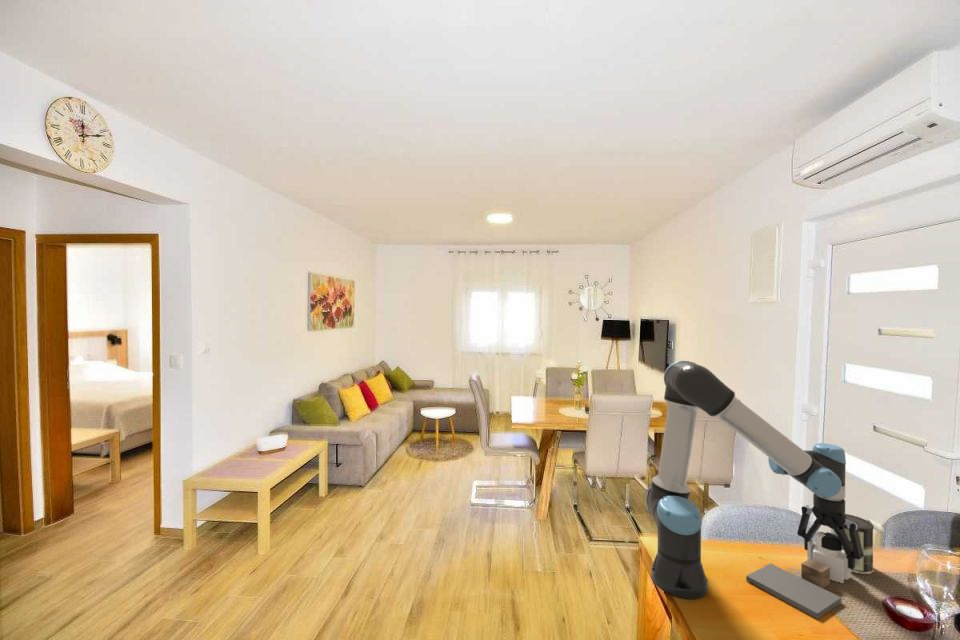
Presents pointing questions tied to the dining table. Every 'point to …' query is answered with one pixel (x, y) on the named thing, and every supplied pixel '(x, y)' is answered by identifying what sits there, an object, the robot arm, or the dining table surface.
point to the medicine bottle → (830, 554)
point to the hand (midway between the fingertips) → (828, 569)
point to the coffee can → (862, 544)
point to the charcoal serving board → (794, 590)
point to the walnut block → (815, 573)
